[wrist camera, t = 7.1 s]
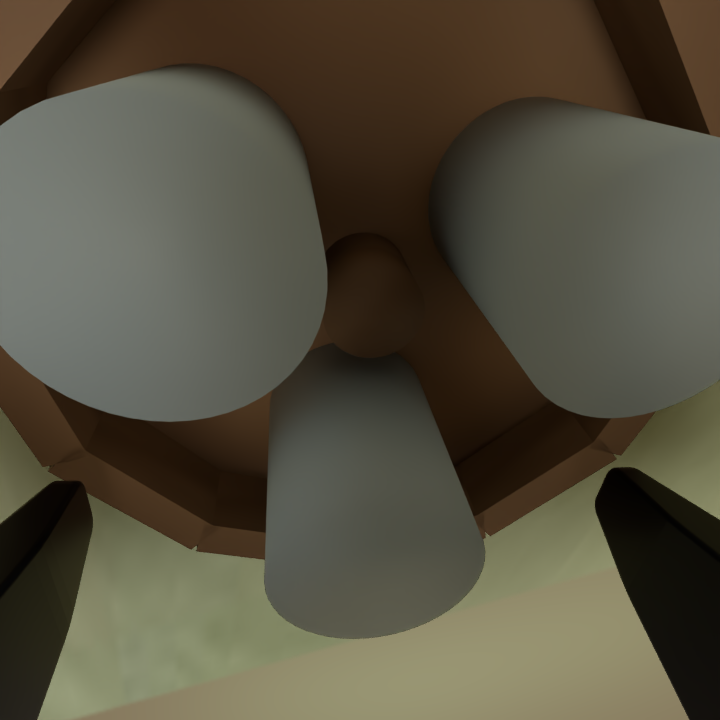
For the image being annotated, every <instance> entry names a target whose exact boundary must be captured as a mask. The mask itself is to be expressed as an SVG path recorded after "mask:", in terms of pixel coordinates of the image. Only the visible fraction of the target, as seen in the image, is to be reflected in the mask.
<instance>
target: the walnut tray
mask: <svg viewBox="0 0 720 720" xmlns="http://www.w3.org/2000/svg"><path fill="white" fill-rule="evenodd" d="M182 63H195V64H205V65H211V66H216V67H219V68H222V69H225V70H229V71H231V72H233V73H236V74H238V75H240V76H242V77H244V78H246V79H247V80H249V81H251V82H252V83H254V84H255V85H257V86H258V87H260V88H261V89H262V90H263V91H264V92H266V93H267V94H268V95H269V96H270V97H271V98H272V99H273V100H274V101H275V102H276V103H277V104H278V105H279V106H280V107H281V108H282V110H283V111H284V113H285V114H286V115H287V117H288V118H289V119H290V121H291V123H292V124H293V126H294V128H295V130H296V131H297V133H298V136H299V138H300V140H301V143H302V145H303V148H304V152H305V155H306V159H307V163H308V169H309V174H310V179H311V184H312V189H313V194H314V199H315V204H316V209H317V215H318V220H319V225H320V230H321V235H322V240H323V245H324V251H325V258H326V264H327V297H326V305H325V311H324V314H323V318H322V321H321V325H320V328H319V330H318V333H317V335H316V337H315V339H314V342H313V344H312V346H311V347H310V349H309V350H308V352H309V351H311V350H313V349H315V348H318V347H320V346H323V345H327V344H331V343H334V344H335V345H336V346H338V347H339V348H340V349H342V350H343V351H345V352H347V353H349V354H351V355H354V356H358V357H363V358H376V357H382V356H386V355H389V354H392V353H394V352H395V353H397V354H398V355H400V356H401V357H402V358H403V359H405V360H406V361H407V362H408V363H409V364H410V366H411V367H412V368H413V369H414V371H415V373H416V374H417V376H418V379H419V381H420V384H421V386H422V389H423V391H424V394H425V396H426V399H427V401H428V404H429V406H430V409H431V411H432V414H433V416H434V419H435V421H436V424H437V426H438V429H439V431H440V434H441V436H442V439H443V441H444V444H445V446H446V449H447V451H448V454H449V456H450V459H451V461H452V464H453V466H454V469H455V471H456V474H457V476H458V479H459V481H460V484H461V486H462V489H463V491H464V494H465V496H466V499H467V501H468V504H469V506H470V509H471V511H472V514H473V516H474V519H475V521H476V524H477V526H478V529H479V531H480V534H481V536H482V539H484V538H486V537H485V532H486V533H487V534H488V535H490V536H491V535H493V534H495V533H496V532H498V531H500V530H501V529H503V528H505V527H506V526H508V525H510V524H511V523H513V522H514V521H516V520H518V519H519V518H521V517H523V516H524V515H526V514H528V513H529V512H531V511H532V510H534V509H536V508H537V507H539V506H541V505H542V504H544V503H546V502H547V501H549V500H551V499H552V498H554V497H555V496H557V495H559V494H560V493H562V492H564V491H565V490H567V489H569V488H570V487H572V486H574V485H575V484H577V483H578V482H580V481H582V480H583V479H585V478H587V477H588V476H590V475H592V474H593V473H595V472H597V471H598V470H600V469H601V468H603V467H605V466H606V465H608V464H610V463H611V462H613V461H615V460H616V457H615V456H614V455H613V454H616V455H622V454H623V452H624V451H625V450H626V449H627V447H628V446H629V445H630V443H631V442H632V441H633V440H634V438H635V437H636V436H637V435H638V433H639V432H640V431H641V430H642V428H643V427H644V426H645V424H646V423H647V422H648V421H649V419H650V418H651V417H652V416H653V414H654V413H655V412H656V411H655V412H651V413H647V414H643V415H637V416H632V417H623V418H596V417H590V416H584V415H580V414H577V413H574V412H571V411H568V410H566V409H564V408H562V407H560V406H558V405H556V404H555V403H553V402H552V401H550V400H549V399H548V398H546V397H545V396H544V395H543V394H542V393H541V392H540V391H539V390H538V389H537V388H536V387H535V385H534V384H533V383H532V381H531V380H530V378H529V377H528V376H527V374H526V373H525V371H524V370H523V369H522V367H521V366H520V364H519V363H518V362H517V360H516V359H515V357H514V356H513V355H512V353H511V352H510V351H509V349H508V348H507V346H506V345H505V344H504V342H503V341H502V339H501V338H500V337H499V335H498V334H497V332H496V331H495V330H494V328H493V327H492V325H491V324H490V323H489V321H488V320H487V319H486V317H485V316H484V314H483V313H482V312H481V310H480V309H479V307H478V306H477V305H476V303H475V302H474V300H473V299H472V298H471V296H470V295H469V293H468V292H467V291H466V289H465V288H464V287H463V285H462V284H461V282H460V281H459V280H458V278H457V277H456V275H455V274H454V273H453V271H452V270H451V268H450V267H449V266H448V264H447V263H446V261H445V260H444V259H443V257H442V256H441V254H440V253H439V251H438V249H437V247H436V245H435V243H434V241H433V237H432V234H431V231H430V225H429V218H428V204H429V194H430V189H431V185H432V181H433V178H434V175H435V172H436V170H437V167H438V165H439V163H440V161H441V159H442V157H443V155H444V154H445V152H446V151H447V149H448V148H449V146H450V145H451V143H452V142H453V141H454V140H455V138H456V137H457V136H458V135H459V133H460V132H462V131H463V130H464V129H465V128H466V127H467V126H468V125H469V124H470V123H471V122H472V121H474V120H475V119H476V118H477V117H479V116H480V115H481V114H483V113H485V112H487V111H488V110H490V109H492V108H493V107H496V106H498V105H500V104H503V103H505V102H508V101H511V100H515V99H518V98H525V97H549V98H555V99H559V100H564V101H568V102H572V103H576V104H581V105H585V106H589V107H593V108H597V109H602V110H606V111H610V112H614V113H619V114H623V115H627V116H631V117H635V118H640V119H644V120H648V121H652V122H657V123H661V124H665V125H669V126H673V127H678V128H682V129H686V130H690V131H695V132H699V133H703V134H707V135H711V136H716V137H720V0H0V126H1V125H2V124H3V123H5V122H6V121H8V120H9V119H10V118H12V117H13V116H15V115H16V114H18V113H19V112H20V111H22V110H25V109H27V108H29V107H31V106H33V105H35V104H37V103H39V102H41V101H44V100H46V99H50V98H53V97H57V96H60V95H64V94H67V93H71V92H74V91H78V90H81V89H85V88H89V87H92V86H96V85H99V84H103V83H107V82H110V81H114V80H117V79H121V78H125V77H128V76H132V75H135V74H139V73H143V72H146V71H150V70H153V69H157V68H161V67H164V66H168V65H174V64H182ZM272 391H273V390H271V391H270V392H269V393H267V394H266V395H264V396H263V397H261V398H259V399H257V400H256V401H254V402H252V403H250V404H248V405H246V406H244V407H241V408H239V409H236V410H234V411H231V412H228V413H225V414H221V415H217V416H214V417H210V418H204V419H198V420H191V421H174V422H166V421H148V420H141V419H133V418H128V417H123V416H119V415H115V414H111V413H107V412H104V411H101V410H98V409H95V408H92V407H89V406H87V405H85V404H82V403H80V402H78V401H76V400H73V399H71V398H69V397H67V396H65V395H63V394H62V393H60V392H58V391H56V390H55V389H53V388H51V387H49V386H48V385H46V384H45V383H43V382H42V381H40V380H39V379H38V378H36V377H35V376H33V375H32V374H31V373H29V372H28V371H27V370H26V369H24V368H23V367H22V366H21V365H20V364H19V363H18V362H16V361H15V360H14V359H13V358H12V357H11V356H10V355H9V354H8V353H7V352H6V351H5V350H4V349H3V348H2V347H1V346H0V407H1V409H2V410H3V411H4V413H5V414H6V416H7V417H8V418H9V420H10V421H11V423H12V424H13V425H14V427H15V428H16V430H17V431H18V433H19V434H20V435H21V437H22V438H23V440H24V441H25V442H26V444H27V445H28V447H29V448H30V450H31V451H32V452H33V454H34V455H35V457H36V458H37V459H38V461H39V462H40V464H41V465H42V467H46V466H50V468H49V470H48V472H50V473H52V474H54V475H56V476H57V477H59V478H61V479H63V480H65V481H73V480H78V481H81V482H82V483H83V484H84V486H85V489H86V492H87V493H88V494H90V495H92V496H94V497H96V498H98V499H99V500H101V501H103V502H105V503H107V504H109V505H110V506H112V507H114V508H116V509H118V510H120V511H121V512H123V513H125V514H127V515H129V516H131V517H132V518H134V519H136V520H138V521H140V522H142V523H143V524H145V525H147V526H149V527H151V528H153V529H154V530H156V531H158V532H160V533H162V534H163V535H165V536H167V537H169V538H171V539H173V540H174V541H176V542H178V543H180V544H182V545H184V546H185V547H187V548H189V549H193V548H194V547H195V546H197V550H196V551H199V552H207V553H215V554H223V555H232V556H240V557H248V558H256V559H264V560H265V543H266V510H267V478H268V445H269V413H270V399H271V395H272Z"/></svg>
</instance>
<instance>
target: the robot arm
mask: <svg viewBox="0 0 720 720" xmlns="http://www.w3.org/2000/svg"><path fill="white" fill-rule="evenodd" d="M595 510H596V514H597V516H598V519H599V522H600V524H601V527H602V529H603V532H604V535H605V537H606V540H607V543H608V545H609V548H610V551H611V553H612V556H613V558H614V561H615V564H616V566H617V569H618V572H619V574H620V577H621V579H622V582H623V584H624V587H625V589H626V591H627V594H628V596H629V598H630V600H631V602H632V604H633V606H634V608H635V610H636V612H637V614H638V616H639V619H640V621H641V623H642V624H643V627H644V629H645V631H646V633H647V635H648V637H649V639H650V641H651V643H652V645H653V647H654V649H655V651H656V653H657V655H658V657H659V659H660V661H661V663H662V665H663V667H664V669H665V671H666V673H667V675H668V677H669V679H670V681H671V684H672V686H673V688H674V689H675V692H676V694H677V696H678V698H679V700H680V702H681V704H682V706H683V708H684V710H685V712H686V714H687V716H688V718H689V720H720V520H719V519H717V518H716V517H714V516H713V515H711V514H709V513H708V512H706V511H704V510H703V509H701V508H700V507H698V506H696V505H695V504H693V503H691V502H690V501H688V500H687V499H685V498H683V497H682V496H680V495H678V494H677V493H675V492H674V491H672V490H670V489H669V488H667V487H665V486H664V485H662V484H661V483H659V482H657V481H656V480H654V479H652V478H651V477H649V476H648V475H646V474H644V473H643V472H641V471H640V470H638V469H636V468H632V467H621V468H612V469H611V470H610V471H609V472H608V473H607V475H606V477H605V479H604V482H603V484H602V486H601V488H600V490H599V492H598V494H597V497H596V499H595ZM92 528H93V517H92V512H91V508H90V504H89V501H88V497H87V493H86V489H85V486H84V484H83V483H82V482H81V481H78V480H73V481H54V482H52V483H50V484H49V485H47V486H46V487H45V488H44V489H42V490H41V491H40V492H39V493H37V494H36V495H35V496H34V497H33V498H31V499H30V500H29V501H28V502H26V503H25V504H24V505H23V506H22V507H20V508H19V509H18V510H17V511H15V512H14V513H13V514H12V515H11V516H9V517H8V518H7V519H6V520H4V521H3V522H2V523H1V524H0V720H37V719H38V716H39V713H40V710H41V707H42V705H43V702H44V699H45V696H46V693H47V690H48V688H49V685H50V682H51V679H52V676H53V673H54V671H55V668H56V665H57V662H58V659H59V656H60V654H61V651H62V648H63V645H64V642H65V639H66V636H67V633H68V630H69V627H70V623H71V619H72V615H73V611H74V607H75V603H76V598H77V594H78V590H79V585H80V581H81V577H82V573H83V568H84V564H85V560H86V555H87V551H88V547H89V542H90V538H91V534H92Z"/></svg>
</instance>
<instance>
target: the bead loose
mask: <svg viewBox="0 0 720 720" xmlns="http://www.w3.org/2000/svg"><path fill="white" fill-rule="evenodd" d="M484 561H485V547H484V541H483V539H482V536H481V534H480V531H479V529H478V526H477V524H476V521H475V519H474V516H473V514H472V511H471V509H470V506H469V504H468V501H467V499H466V496H465V494H464V491H463V489H462V486H461V484H460V481H459V479H458V476H457V474H456V471H455V469H454V466H453V464H452V461H451V459H450V456H449V454H448V451H447V449H446V446H445V444H444V441H443V439H442V436H441V434H440V431H439V429H438V426H437V424H436V421H435V419H434V416H433V414H432V411H431V409H430V406H429V404H428V401H427V399H426V396H425V394H424V391H423V389H422V386H421V384H420V381H419V379H418V376H417V374H416V373H415V371H414V369H413V368H412V367H411V366H410V364H409V363H408V362H407V361H406V360H405V359H403V358H402V357H401V356H400V355H398V354H397V353H395V352H394V353H392V354H389V355H386V356H382V357H376V358H363V357H358V356H354V355H351V354H349V353H347V352H345V351H343V350H342V349H340V348H339V347H338V346H336V345H335V344H334V343H331V344H327V345H323V346H320V347H318V348H315V349H313V350H311V351H309V352H307V354H306V355H305V357H304V358H303V360H302V361H301V362H300V364H299V365H298V366H297V367H296V368H295V370H294V371H293V372H292V373H291V374H290V375H289V376H288V377H287V378H286V379H285V380H284V381H283V382H282V383H280V384H279V385H278V386H277V387H276V388H274V389H273V391H272V395H271V399H270V413H269V445H268V478H267V510H266V543H265V575H264V583H265V591H266V594H267V597H268V600H269V601H270V603H271V605H272V606H273V608H274V609H275V610H276V611H277V612H278V614H279V615H281V616H282V617H283V618H284V619H285V620H287V621H288V622H290V623H291V624H293V625H295V626H297V627H299V628H301V629H303V630H306V631H308V632H312V633H315V634H318V635H323V636H327V637H335V638H347V639H361V638H373V637H381V636H386V635H392V634H396V633H399V632H403V631H406V630H409V629H412V628H415V627H418V626H420V625H423V624H425V623H427V622H429V621H431V620H433V619H435V618H437V617H439V616H440V615H442V614H444V613H445V612H447V611H448V610H450V609H451V608H452V607H454V606H455V605H456V604H457V603H459V602H460V601H461V600H462V599H463V598H464V597H465V596H466V595H467V594H468V593H469V591H470V590H471V589H472V588H473V587H474V585H475V583H476V582H477V580H478V578H479V576H480V574H481V572H482V569H483V566H484Z"/></svg>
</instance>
